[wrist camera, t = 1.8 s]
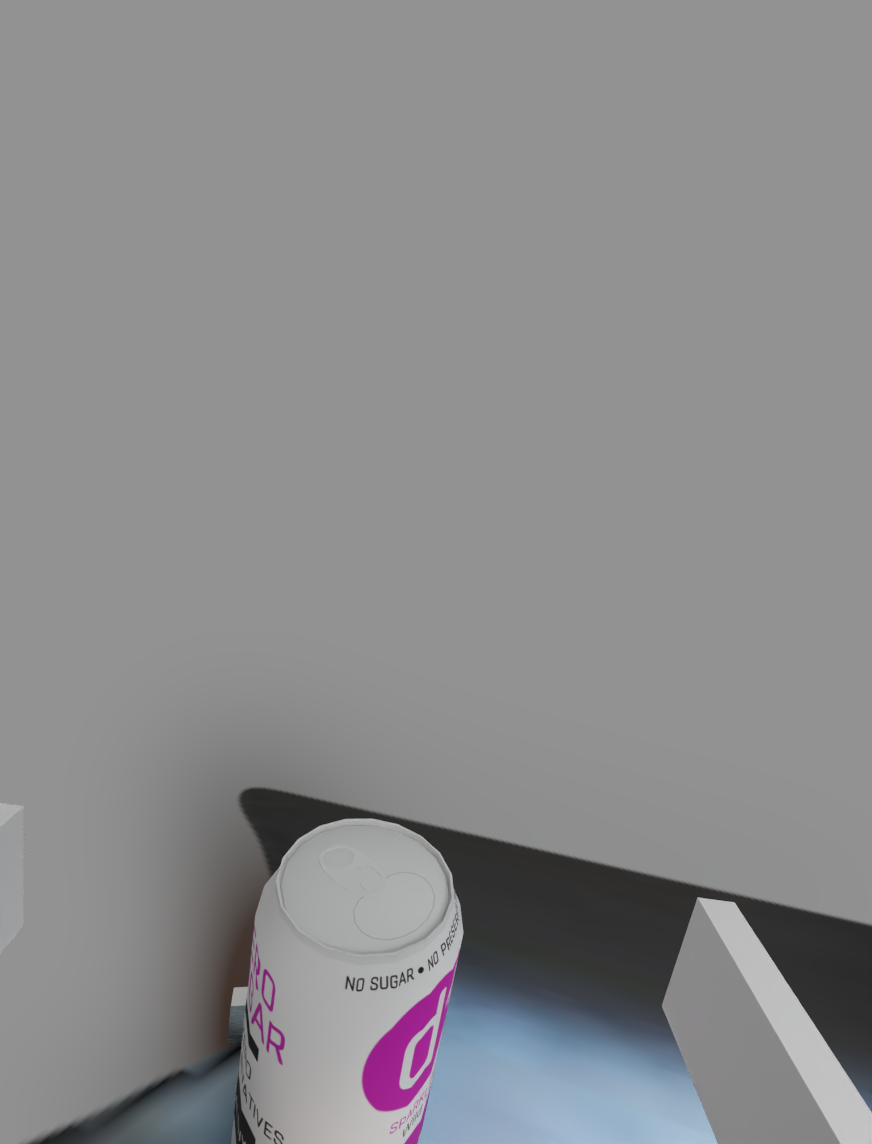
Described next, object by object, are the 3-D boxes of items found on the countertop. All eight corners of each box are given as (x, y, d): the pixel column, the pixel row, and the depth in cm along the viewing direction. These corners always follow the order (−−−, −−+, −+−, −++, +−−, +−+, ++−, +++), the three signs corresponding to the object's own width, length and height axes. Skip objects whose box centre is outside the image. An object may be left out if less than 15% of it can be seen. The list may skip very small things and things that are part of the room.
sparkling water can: (446, 1142, 27) (506, 880, 24) (314, 1349, 20) (370, 1027, 17) (329, 1022, 32) (365, 786, 28) (190, 1159, 25) (214, 874, 21)
